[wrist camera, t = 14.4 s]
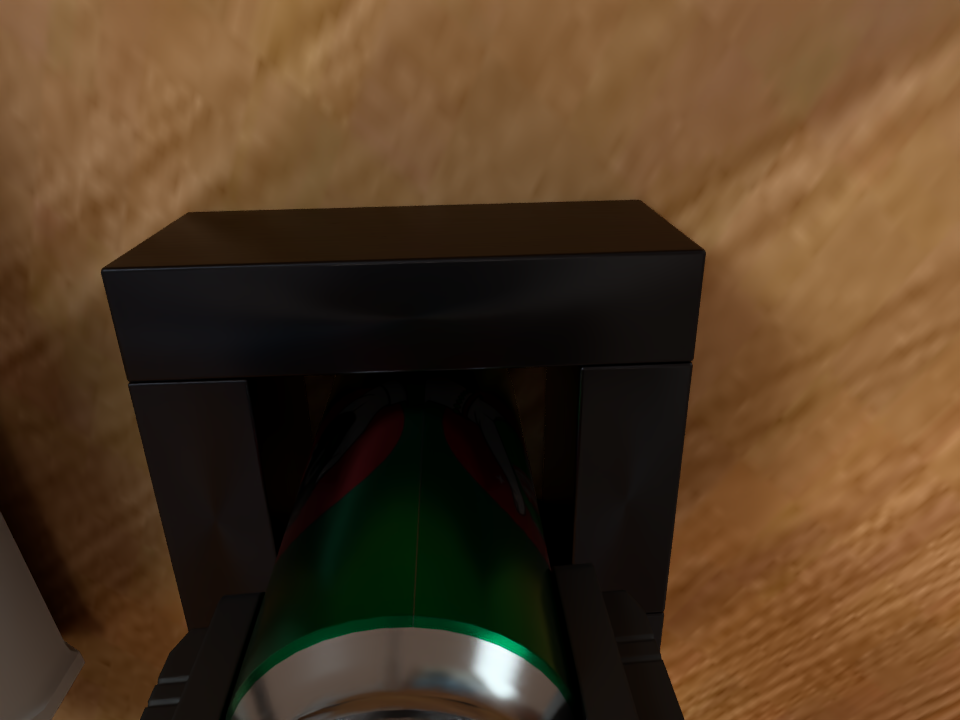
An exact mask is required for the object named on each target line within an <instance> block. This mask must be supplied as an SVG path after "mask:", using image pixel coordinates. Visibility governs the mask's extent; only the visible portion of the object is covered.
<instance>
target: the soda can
mask: <svg viewBox="0 0 960 720" xmlns="http://www.w3.org/2000/svg"><path fill="white" fill-rule="evenodd" d="M225 720H581V715H580V710H579V705H578V700H577V695H576V690H575V685H574V680H573V675H572V671H571V666H570V661H569V656H568V651H567V646H566V641H565V636H564V631H563V626H562V621H561V616H560V612H559V607H558V602H557V597H556V592H555V587H554V582H553V577H552V572H551V567H550V562H549V557H548V553H547V548H546V543H545V538H544V533H543V528H542V523H541V518H540V513H539V508H538V503H537V498H536V493H535V489H534V484H533V479H532V474H531V469H530V464H529V459H528V454H527V449H526V444H525V439H524V434H523V430H522V425H521V420H520V415H519V410H518V405H517V400H516V395H515V390H514V386H513V383H512V380H511V377H510V374H509V372H508V370H507V369H506V368H499V369H471V370H444V371H417V372H390V373H362V374H336V376H335V378H334V382H333V385H332V388H331V391H330V394H329V397H328V400H327V403H326V406H325V409H324V413H323V416H322V419H321V422H320V425H319V428H318V431H317V434H316V437H315V440H314V443H313V447H312V450H311V453H310V456H309V459H308V462H307V465H306V468H305V471H304V474H303V478H302V481H301V484H300V487H299V490H298V493H297V496H296V499H295V502H294V505H293V509H292V512H291V515H290V518H289V521H288V524H287V527H286V530H285V533H284V536H283V540H282V543H281V546H280V549H279V552H278V555H277V558H276V561H275V564H274V567H273V571H272V574H271V577H270V580H269V583H268V586H267V589H266V592H265V595H264V598H263V602H262V605H261V608H260V611H259V614H258V617H257V620H256V623H255V626H254V629H253V633H252V636H251V639H250V642H249V645H248V648H247V651H246V654H245V657H244V660H243V664H242V667H241V670H240V673H239V676H238V679H237V682H236V685H235V688H234V691H233V695H232V698H231V701H230V704H229V707H228V711H227V714H226V718H225Z"/></svg>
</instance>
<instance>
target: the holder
mask: <svg viewBox="0 0 960 720" xmlns="http://www.w3.org/2000/svg"><path fill="white" fill-rule="evenodd" d="M705 256H706V252H705V250H704V249H703V248H701V247H700V246H699V245H697V244H696V243H695V242H694V241H692V240H691V239H690V238H688V237H687V236H686V235H685V234H683V233H682V232H681V231H679V230H678V229H677V228H676V227H674V226H673V225H672V224H670V223H669V222H668V221H667V220H665V219H664V218H663V217H661V216H660V215H659V214H657V213H656V212H655V211H654V210H652V209H651V208H650V207H648V206H647V205H646V204H645V203H643V202H642V201H640V200H616V201H580V202H544V203H508V204H472V205H436V206H400V207H364V208H328V209H293V210H257V211H221V212H188V213H186V214H185V215H183V216H182V217H180V218H179V219H177V220H176V221H174V222H172V223H171V224H169V225H168V226H166V227H165V228H163V229H162V230H160V231H159V232H157V233H156V234H154V235H153V236H151V237H150V238H148V239H146V240H145V241H143V242H142V243H140V244H139V245H137V246H136V247H134V248H133V249H131V250H130V251H128V252H127V253H125V254H124V255H122V256H120V257H119V258H117V259H116V260H114V261H113V262H111V263H110V264H108V265H107V266H105V267H104V268H102V269H101V275H102V279H103V283H104V287H105V291H106V295H107V299H108V303H109V307H110V311H111V315H112V319H113V324H114V328H115V332H116V336H117V340H118V344H119V348H120V352H121V356H122V360H123V364H124V368H125V372H126V376H127V380H128V381H129V384H128V387H129V391H130V395H131V399H132V403H133V407H134V411H135V415H136V419H137V424H138V428H139V432H140V436H141V440H142V444H143V448H144V452H145V456H146V460H147V464H148V468H149V472H150V476H151V480H152V485H153V489H154V493H155V497H156V501H157V505H158V509H159V513H160V517H161V521H162V525H163V529H164V533H165V537H166V541H167V546H168V550H169V554H170V558H171V562H172V566H173V570H174V574H175V578H176V582H177V586H178V590H179V594H180V598H181V602H182V606H183V611H184V615H185V619H186V623H187V627H188V631H190V630H191V629H193V628H204V627H209V625H210V622H211V619H212V617H213V614H214V612H215V609H216V607H217V604H218V602H219V600H220V599H221V597H222V596H224V595H234V594H245V593H256V592H266V589H267V586H268V583H269V580H270V577H271V574H272V571H273V567H274V564H275V561H276V558H277V555H278V552H279V549H280V546H281V543H282V540H283V536H284V533H285V530H286V527H287V524H288V521H289V518H290V515H291V512H292V509H293V505H294V502H295V499H296V496H297V493H298V490H299V487H300V484H301V481H302V478H303V474H304V471H305V468H306V465H307V462H308V459H309V456H310V453H311V450H312V447H313V443H312V435H311V428H310V420H309V412H308V405H307V397H306V390H305V382H304V376H308V375H335V374H362V373H390V372H417V371H444V370H471V369H499V368H526V367H546V379H545V423H544V468H543V500H542V501H537V503H538V508H539V513H540V518H541V523H542V528H543V533H544V538H545V543H546V548H547V553H548V557H549V562H550V567H551V572H552V566H561V565H572V564H583V563H592V564H593V565H594V568H595V571H596V575H597V578H598V581H599V585H600V588H601V592H605V591H616V590H626V591H627V592H628V593H629V594H630V595H631V596H632V597H633V598H634V599H635V600H636V601H637V602H638V603H639V604H640V605H641V607H642V608H643V609H644V610H645V612H646V615H647V618H648V620H649V623H650V626H651V629H652V631H653V634H654V639H655V640H656V643H657V645H658V648H659V651H660V645H661V636H662V628H663V619H664V612H663V611H664V609H665V600H666V592H667V583H668V574H669V566H670V557H671V549H672V540H673V531H674V523H675V514H676V505H677V497H678V488H679V479H680V471H681V462H682V453H683V445H684V436H685V428H686V419H687V410H688V402H689V393H690V384H691V376H692V367H693V365H692V362H691V361H693V359H694V351H695V342H696V334H697V325H698V316H699V308H700V299H701V291H702V282H703V273H704V265H705Z"/></svg>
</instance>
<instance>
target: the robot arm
mask: <svg viewBox="0 0 960 720" xmlns="http://www.w3.org/2000/svg"><path fill="white" fill-rule="evenodd" d="M552 577H553V582H554V587H555V592H556V597H557V602H558V607H559V612H560V616H561V621H562V626H563V631H564V636H565V641H566V646H567V651H568V656H569V661H570V666H571V671H572V675H573V680H574V685H575V690H576V695H577V700H578V705H579V710H580V715H581V720H684V717H683V714H682V712H681V709H680V706H679V703H678V701H677V698H676V695H675V692H674V690H673V687H672V684H671V681H670V678H669V676H668V673H667V670H666V667H665V665H664V662H663V660H662V659H661V654H660V651H659V648H658V645H657V643H656V640H655V639H654V634H653V631H652V629H651V626H650V623H649V620H648V618H647V615H646V612H645V610H644V609H643V608H642V607H641V605H640V604H639V603H638V602H637V601H636V600H635V599H634V598H633V597H632V596H631V595H630V594H629V593H628V592H627V591H626V590H616V591H605V592H601V588H600V585H599V581H598V578H597V575H596V571H595V568H594V565H593V564H592V563H583V564H572V565H561V566H552ZM264 595H265V592H256V593H245V594H234V595H224V596H222V597H221V599H220V600H219V602H218V604H217V607H216V609H215V612H214V614H213V617H212V619H211V622H210V625H209V627H204V628H193V629H191V630H190V631H189V632H188V633H187V634H186V636H185V637H184V638H183V639H182V640H181V641H180V642H179V643H178V644H177V645H176V647H175V648H174V649H173V650H172V651H171V652H170V653H169V656H168V658H167V660H166V662H165V664H164V667H163V669H162V671H161V673H160V676H159V678H158V684H157V685H155V687H154V689H153V691H152V694H151V696H150V698H149V700H148V707H145V709H144V712H143V714H142V716H141V718H140V720H225V718H226V714H227V711H228V707H229V704H230V701H231V698H232V695H233V691H234V688H235V685H236V682H237V679H238V676H239V673H240V670H241V667H242V664H243V660H244V657H245V654H246V651H247V648H248V645H249V642H250V639H251V636H252V633H253V629H254V626H255V623H256V620H257V617H258V614H259V611H260V608H261V605H262V602H263V598H264Z"/></svg>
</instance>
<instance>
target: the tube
mask: <svg viewBox="0 0 960 720" xmlns="http://www.w3.org/2000/svg"><path fill="white" fill-rule="evenodd" d="M84 664H85V661H84V659H83V657H82V655H81V654H80V652H79V651H78V650H77V649H75V648H74V647H72V646H71V645H70V644H68V643H67V642H65V641H64V640H63V638H62V636H61V634H60V632H59V630H58V628H57V626H56V624H55V622H54V620H53V618H52V616H51V614H50V612H49V610H48V608H47V606H46V604H45V602H44V600H43V597H42V595H41V593H40V591H39V589H38V587H37V585H36V583H35V581H34V579H33V577H32V575H31V573H30V571H29V569H28V567H27V565H26V563H25V561H24V559H23V557H22V555H21V552H20V550H19V548H18V546H17V544H16V542H15V540H14V538H13V536H12V534H11V532H10V530H9V528H8V526H7V524H6V522H5V520H4V518H3V516H2V514H1V512H0V720H51V719H52V718H53V716H54V714H55V713H56V711H57V709H58V708H59V706H60V704H61V703H62V701H63V699H64V697H65V696H66V694H67V692H68V691H69V689H70V687H71V686H72V684H73V682H74V681H75V679H76V677H77V675H78V674H79V672H80V670H81V669H82V667H83V665H84Z"/></svg>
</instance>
